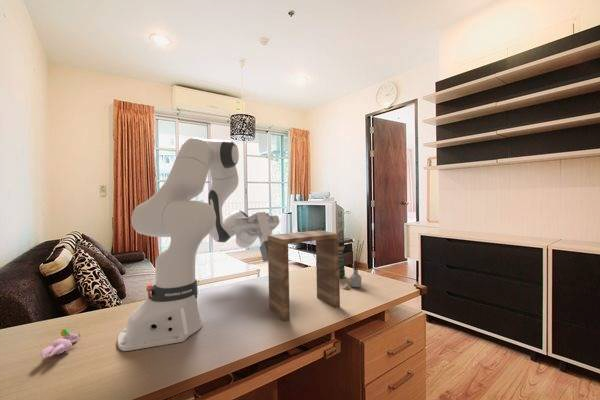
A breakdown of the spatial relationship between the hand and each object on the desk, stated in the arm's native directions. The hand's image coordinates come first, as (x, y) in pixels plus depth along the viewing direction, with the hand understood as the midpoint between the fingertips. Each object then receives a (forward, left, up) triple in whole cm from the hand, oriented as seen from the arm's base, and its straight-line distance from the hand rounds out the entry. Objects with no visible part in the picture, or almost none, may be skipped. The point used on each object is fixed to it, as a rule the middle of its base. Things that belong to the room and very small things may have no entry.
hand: (261, 215), depth 119 cm
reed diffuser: (+35, -18, -32) cm, 51 cm away
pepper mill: (0, -2, -10) cm, 10 cm away
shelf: (+6, -24, -32) cm, 40 cm away
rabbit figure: (-63, -15, -32) cm, 72 cm away
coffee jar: (+37, 0, -32) cm, 49 cm away
